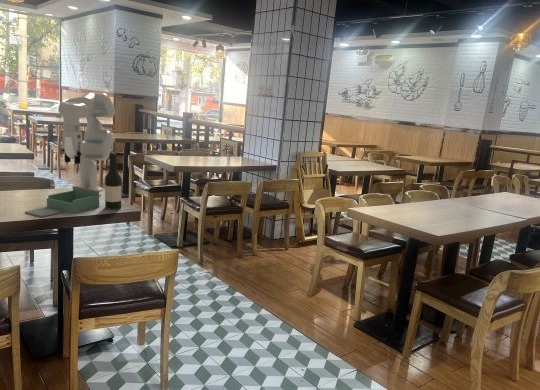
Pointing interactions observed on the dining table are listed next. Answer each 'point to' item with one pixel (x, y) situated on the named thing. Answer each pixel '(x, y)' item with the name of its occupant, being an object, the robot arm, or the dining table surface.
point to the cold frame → (74, 200)
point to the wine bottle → (112, 186)
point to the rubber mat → (43, 212)
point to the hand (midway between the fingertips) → (72, 162)
